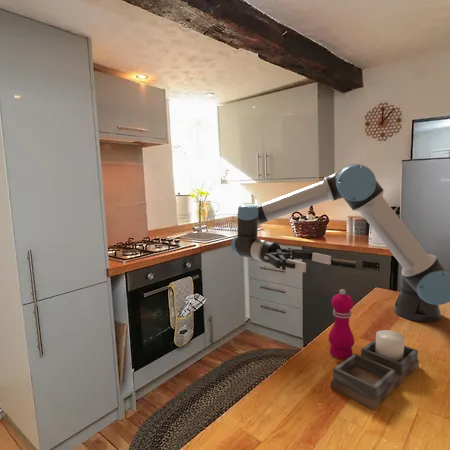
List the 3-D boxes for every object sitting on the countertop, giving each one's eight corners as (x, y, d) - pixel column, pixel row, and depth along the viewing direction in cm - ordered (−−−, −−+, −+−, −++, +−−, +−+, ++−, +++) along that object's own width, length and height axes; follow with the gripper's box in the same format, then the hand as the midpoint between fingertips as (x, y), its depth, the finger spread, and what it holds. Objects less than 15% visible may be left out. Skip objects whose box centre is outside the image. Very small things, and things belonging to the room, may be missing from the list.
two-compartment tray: (378, 351, 100) (379, 335, 99) (418, 366, 91) (419, 349, 91) (330, 387, 83) (331, 369, 82) (373, 410, 75) (374, 390, 74)
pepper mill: (355, 361, 95) (358, 294, 92) (329, 358, 96) (331, 293, 93) (351, 348, 102) (353, 285, 99) (327, 346, 103) (328, 284, 100)
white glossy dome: (386, 350, 96) (388, 328, 95) (409, 363, 90) (410, 338, 89) (369, 356, 93) (370, 333, 92) (390, 369, 87) (392, 344, 86)
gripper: (287, 256, 126) (338, 268, 111) (241, 268, 110) (292, 284, 94) (288, 237, 125) (340, 246, 109) (241, 246, 109) (294, 258, 93)
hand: (318, 264), depth 102 cm, fingers open, 13 cm apart
